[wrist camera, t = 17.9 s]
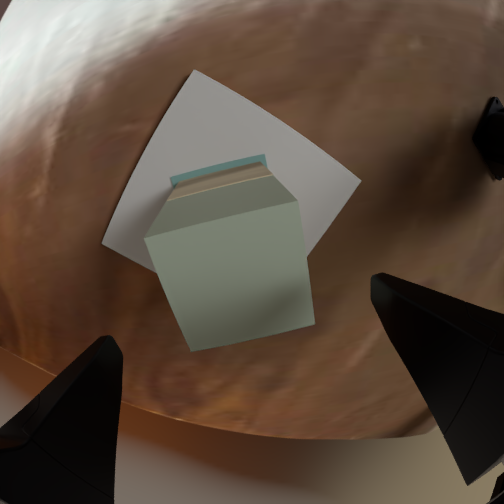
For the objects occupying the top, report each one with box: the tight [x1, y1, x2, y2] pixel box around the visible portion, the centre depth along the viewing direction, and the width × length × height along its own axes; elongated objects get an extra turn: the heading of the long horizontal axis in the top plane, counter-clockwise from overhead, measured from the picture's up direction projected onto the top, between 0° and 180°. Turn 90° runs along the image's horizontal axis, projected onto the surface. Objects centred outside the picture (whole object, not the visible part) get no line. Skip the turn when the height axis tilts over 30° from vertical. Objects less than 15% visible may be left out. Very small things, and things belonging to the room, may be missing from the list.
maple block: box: [167, 161, 273, 201], centre depth 18 cm, size 6×6×5 cm
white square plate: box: [101, 70, 361, 273], centre depth 21 cm, size 14×14×1 cm
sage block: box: [144, 175, 315, 352], centre depth 13 cm, size 6×6×5 cm
